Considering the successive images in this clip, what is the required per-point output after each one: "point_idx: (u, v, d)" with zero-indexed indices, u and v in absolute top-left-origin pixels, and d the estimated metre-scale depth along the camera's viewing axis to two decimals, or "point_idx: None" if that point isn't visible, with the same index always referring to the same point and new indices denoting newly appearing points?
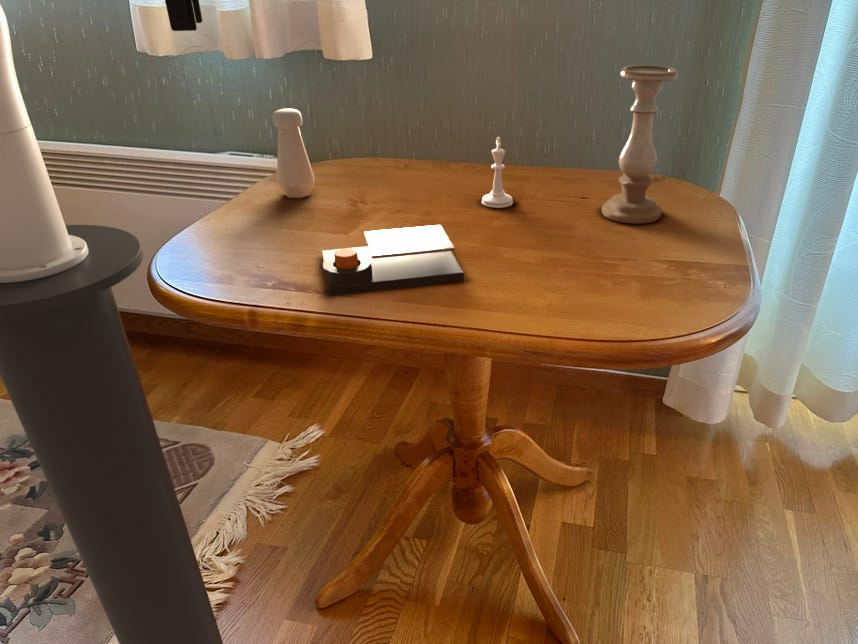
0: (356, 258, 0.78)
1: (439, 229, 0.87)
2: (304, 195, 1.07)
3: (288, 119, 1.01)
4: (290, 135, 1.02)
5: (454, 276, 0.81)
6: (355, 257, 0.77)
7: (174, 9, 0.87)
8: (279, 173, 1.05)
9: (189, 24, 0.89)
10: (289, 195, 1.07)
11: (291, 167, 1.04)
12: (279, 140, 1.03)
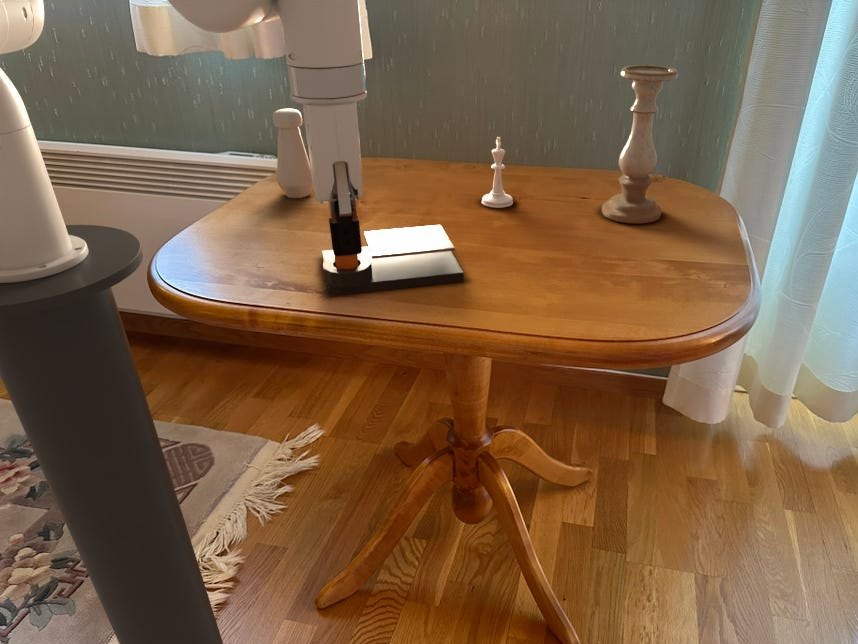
0: (356, 258, 0.78)
1: (439, 229, 0.87)
2: (304, 195, 1.07)
3: (288, 118, 1.01)
4: (290, 135, 1.02)
5: (454, 276, 0.81)
6: (355, 257, 0.77)
7: (340, 236, 0.75)
8: (279, 173, 1.05)
9: (354, 248, 0.77)
10: (289, 195, 1.07)
11: (291, 167, 1.04)
12: (279, 140, 1.03)
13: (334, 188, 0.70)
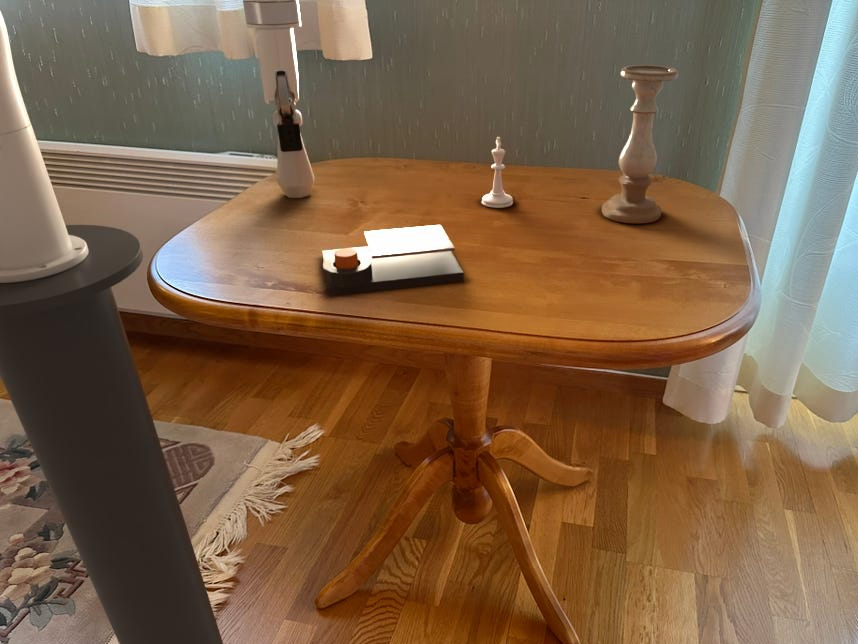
0: (356, 258, 0.78)
1: (439, 229, 0.87)
2: (304, 195, 1.07)
3: None
4: None
5: (454, 276, 0.81)
6: (355, 257, 0.77)
7: (285, 135, 1.00)
8: (279, 173, 1.05)
9: (296, 146, 1.02)
10: (289, 195, 1.07)
11: (291, 167, 1.04)
12: None
13: (278, 93, 0.97)
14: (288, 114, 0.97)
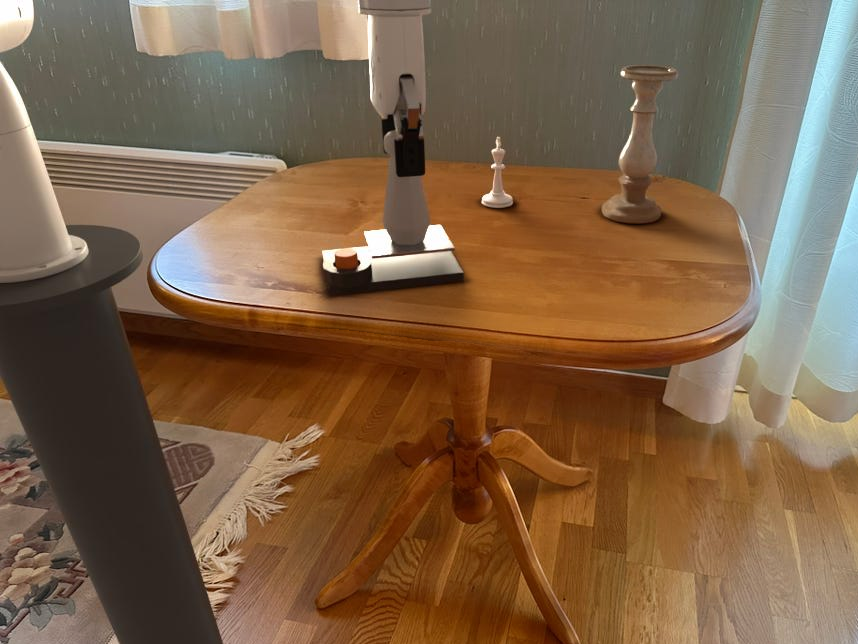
0: (356, 258, 0.78)
1: (439, 229, 0.87)
2: (418, 241, 0.82)
3: None
4: None
5: (454, 276, 0.81)
6: (355, 257, 0.77)
7: (405, 155, 0.72)
8: (388, 214, 0.80)
9: (417, 169, 0.74)
10: (399, 242, 0.82)
11: (405, 206, 0.79)
12: (390, 171, 0.78)
13: (397, 103, 0.72)
14: (415, 122, 0.69)
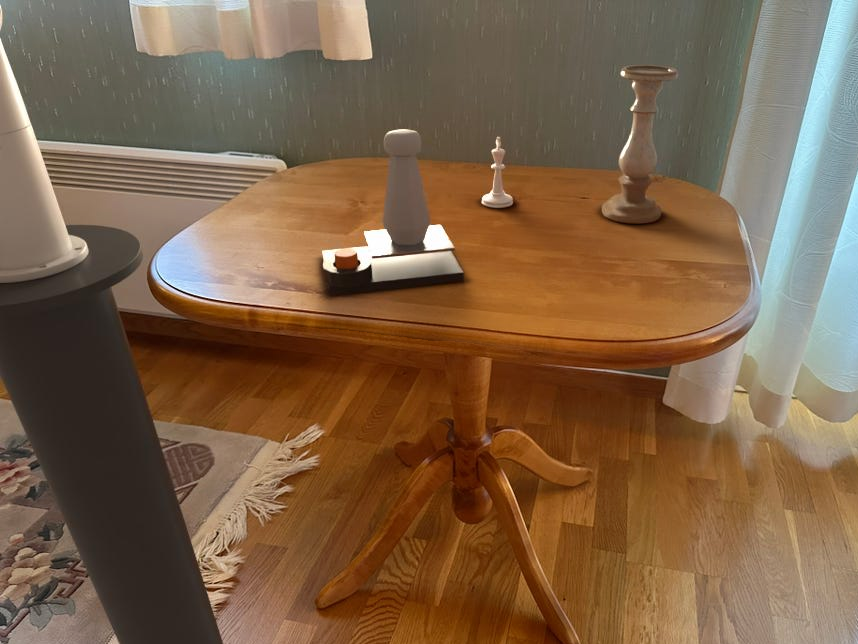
0: (356, 258, 0.78)
1: (439, 229, 0.87)
2: (418, 241, 0.82)
3: (406, 143, 0.76)
4: (406, 165, 0.77)
5: (454, 276, 0.81)
6: (355, 257, 0.77)
7: None
8: (388, 214, 0.80)
9: None
10: (399, 242, 0.82)
11: (405, 206, 0.79)
12: (390, 171, 0.78)
13: None
14: None
